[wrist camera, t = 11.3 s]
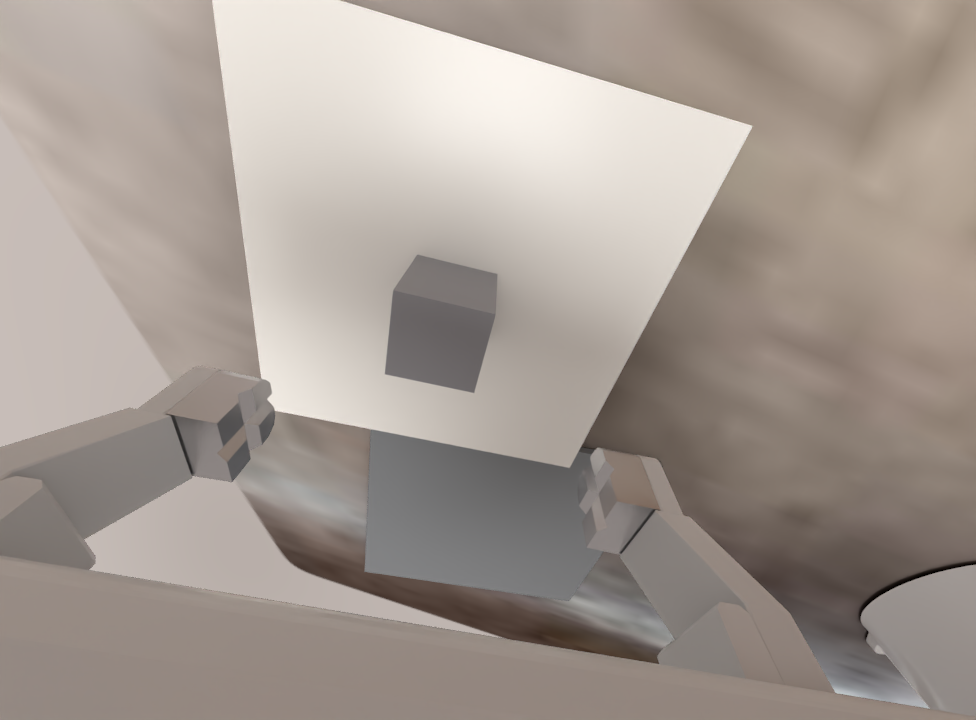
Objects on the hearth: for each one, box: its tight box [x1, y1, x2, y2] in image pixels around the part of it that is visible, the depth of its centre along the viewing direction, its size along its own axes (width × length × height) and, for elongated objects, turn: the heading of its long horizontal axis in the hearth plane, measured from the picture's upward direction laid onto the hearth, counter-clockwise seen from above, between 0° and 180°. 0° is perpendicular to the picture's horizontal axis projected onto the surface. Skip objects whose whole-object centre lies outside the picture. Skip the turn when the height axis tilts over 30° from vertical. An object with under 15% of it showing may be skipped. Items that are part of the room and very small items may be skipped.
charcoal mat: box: [365, 429, 663, 601], centre depth 30 cm, size 20×20×1 cm
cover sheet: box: [212, 0, 753, 468], centre depth 15 cm, size 18×18×5 cm
